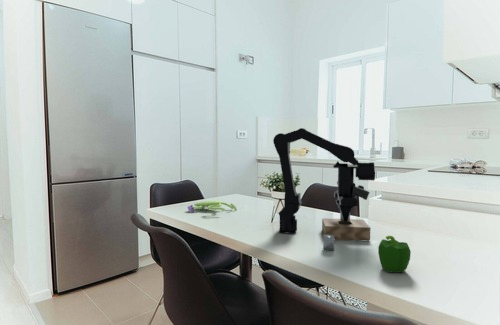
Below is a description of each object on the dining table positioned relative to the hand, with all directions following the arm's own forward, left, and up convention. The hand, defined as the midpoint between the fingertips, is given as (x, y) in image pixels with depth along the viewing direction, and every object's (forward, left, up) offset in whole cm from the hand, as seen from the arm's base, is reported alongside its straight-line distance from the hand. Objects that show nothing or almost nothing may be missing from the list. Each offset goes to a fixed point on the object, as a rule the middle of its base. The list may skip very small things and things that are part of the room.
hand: (344, 220), depth 122 cm
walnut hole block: (0, 0, -6) cm, 6 cm away
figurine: (-62, +36, -7) cm, 72 cm away
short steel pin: (-8, -17, -6) cm, 20 cm away
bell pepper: (+8, -32, -6) cm, 34 cm away
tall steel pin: (0, 0, -3) cm, 3 cm away
